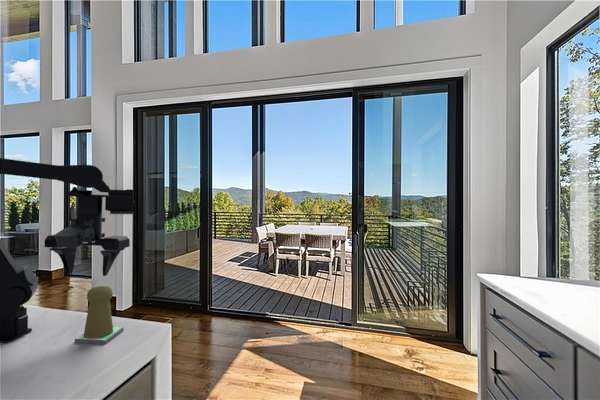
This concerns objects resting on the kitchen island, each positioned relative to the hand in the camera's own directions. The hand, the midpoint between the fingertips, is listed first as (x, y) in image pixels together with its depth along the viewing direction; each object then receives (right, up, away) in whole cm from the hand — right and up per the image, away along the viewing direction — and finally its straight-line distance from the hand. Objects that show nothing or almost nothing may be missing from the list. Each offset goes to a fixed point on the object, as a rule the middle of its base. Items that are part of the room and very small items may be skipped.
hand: (87, 274), depth 81 cm
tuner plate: (+7, -13, -6) cm, 16 cm away
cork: (+7, -13, -6) cm, 16 cm away
